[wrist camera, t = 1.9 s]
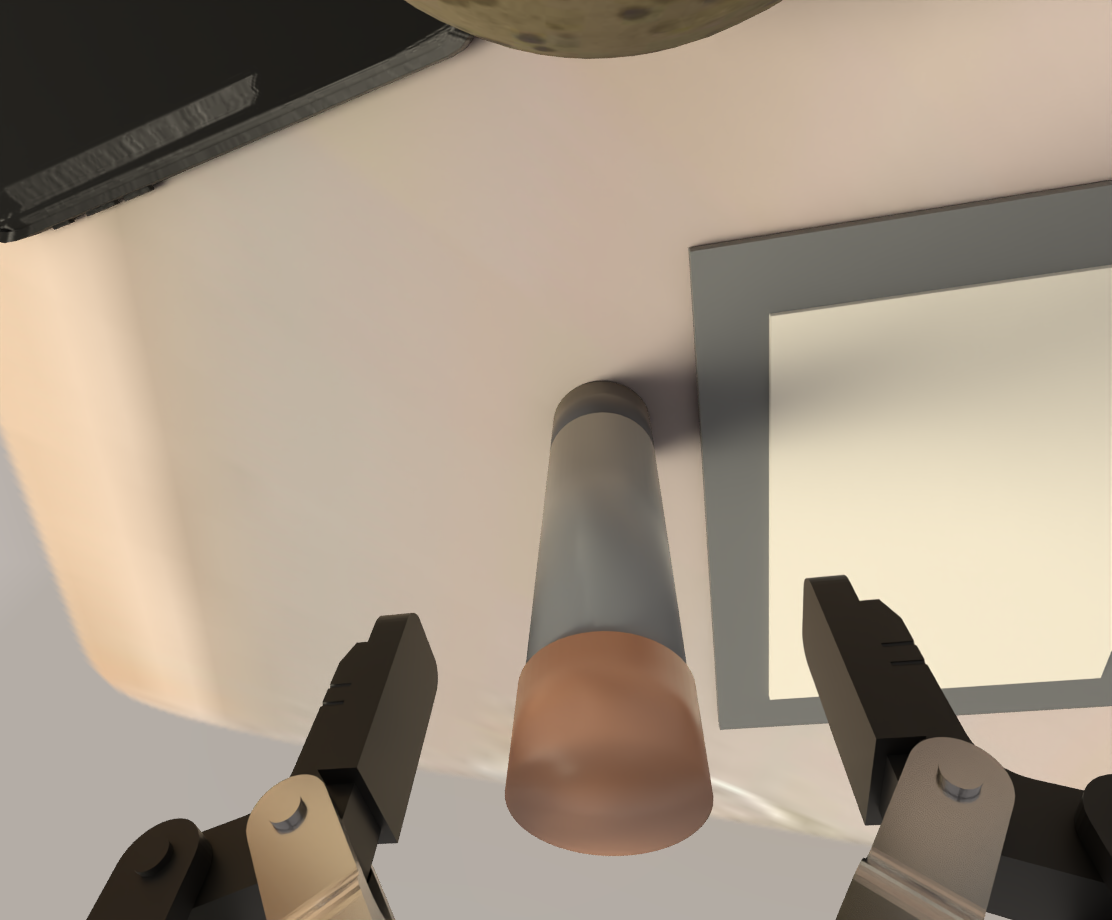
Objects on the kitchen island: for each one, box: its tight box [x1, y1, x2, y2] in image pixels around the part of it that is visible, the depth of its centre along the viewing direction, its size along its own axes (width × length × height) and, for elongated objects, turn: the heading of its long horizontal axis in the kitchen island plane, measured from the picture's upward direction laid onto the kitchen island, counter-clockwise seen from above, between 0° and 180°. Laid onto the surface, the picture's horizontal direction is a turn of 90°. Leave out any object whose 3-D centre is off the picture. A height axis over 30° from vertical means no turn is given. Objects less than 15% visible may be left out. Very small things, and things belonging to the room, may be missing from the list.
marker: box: [505, 381, 713, 856], centre depth 15 cm, size 3×3×12 cm
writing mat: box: [689, 180, 1112, 730], centre depth 21 cm, size 20×16×1 cm
